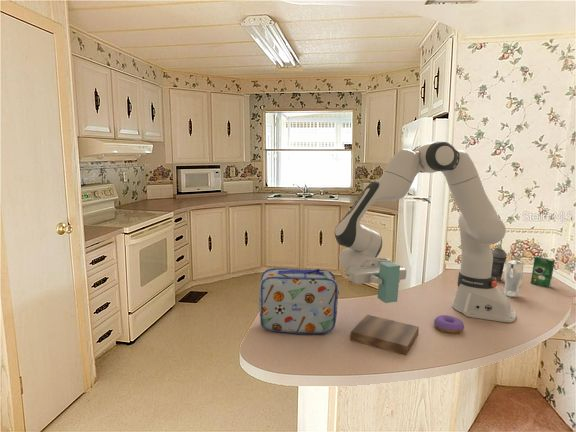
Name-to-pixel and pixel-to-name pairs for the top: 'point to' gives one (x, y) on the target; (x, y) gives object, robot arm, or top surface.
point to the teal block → (389, 282)
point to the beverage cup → (498, 262)
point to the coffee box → (542, 271)
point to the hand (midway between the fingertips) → (390, 281)
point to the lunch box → (298, 300)
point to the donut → (449, 324)
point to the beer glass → (512, 277)
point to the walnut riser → (385, 334)
